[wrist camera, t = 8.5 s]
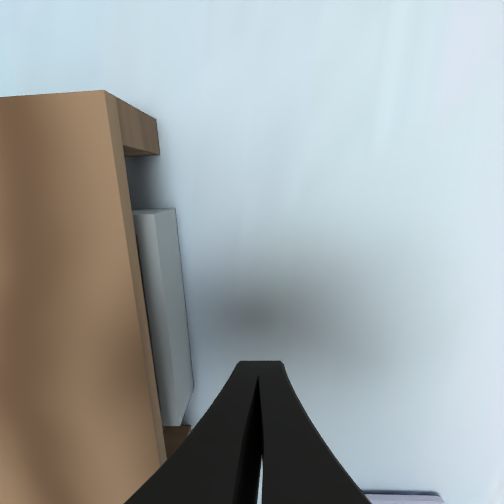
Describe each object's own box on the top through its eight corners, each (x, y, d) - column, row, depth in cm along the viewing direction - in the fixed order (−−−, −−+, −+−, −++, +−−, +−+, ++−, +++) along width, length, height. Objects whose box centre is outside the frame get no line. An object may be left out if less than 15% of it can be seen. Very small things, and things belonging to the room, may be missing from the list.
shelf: (155, 119, 13) (104, 90, 9) (192, 446, 17) (169, 529, 13) (-27, 130, 13) (-155, 107, 9) (52, 444, 18) (-13, 523, 14)
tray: (175, 208, 14) (154, 213, 11) (193, 388, 16) (179, 426, 14) (36, 213, 14) (-14, 220, 12) (74, 387, 17) (39, 424, 14)
